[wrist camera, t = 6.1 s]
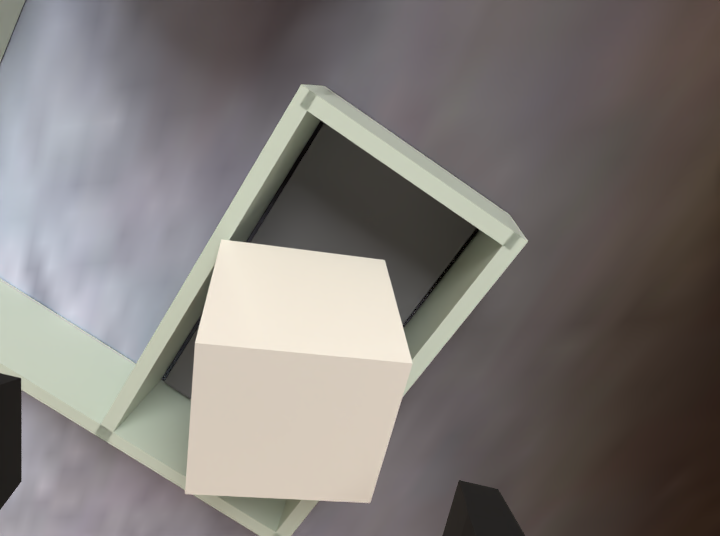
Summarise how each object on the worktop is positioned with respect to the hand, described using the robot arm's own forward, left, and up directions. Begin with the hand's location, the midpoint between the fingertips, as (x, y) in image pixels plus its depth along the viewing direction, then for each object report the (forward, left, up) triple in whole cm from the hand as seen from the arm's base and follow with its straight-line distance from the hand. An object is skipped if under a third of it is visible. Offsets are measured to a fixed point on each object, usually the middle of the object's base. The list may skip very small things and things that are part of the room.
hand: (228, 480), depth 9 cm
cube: (0, 0, -6) cm, 6 cm away
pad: (0, 0, -8) cm, 8 cm away
